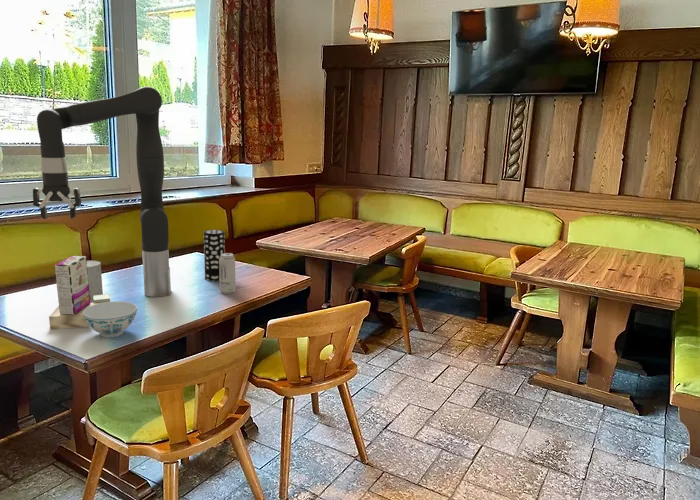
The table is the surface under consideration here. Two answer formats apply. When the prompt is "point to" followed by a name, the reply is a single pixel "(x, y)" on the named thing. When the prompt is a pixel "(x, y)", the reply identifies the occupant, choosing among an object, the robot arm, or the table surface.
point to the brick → (101, 298)
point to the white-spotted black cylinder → (213, 253)
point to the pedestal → (68, 319)
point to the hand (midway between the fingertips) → (59, 218)
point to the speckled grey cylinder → (94, 278)
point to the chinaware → (110, 317)
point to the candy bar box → (72, 285)
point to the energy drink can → (227, 273)
